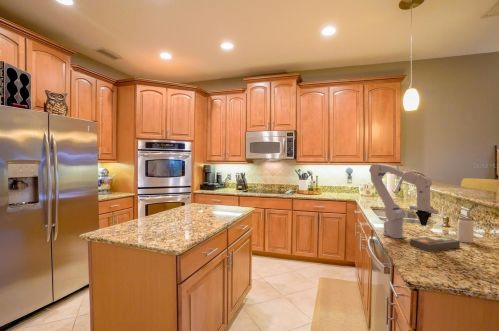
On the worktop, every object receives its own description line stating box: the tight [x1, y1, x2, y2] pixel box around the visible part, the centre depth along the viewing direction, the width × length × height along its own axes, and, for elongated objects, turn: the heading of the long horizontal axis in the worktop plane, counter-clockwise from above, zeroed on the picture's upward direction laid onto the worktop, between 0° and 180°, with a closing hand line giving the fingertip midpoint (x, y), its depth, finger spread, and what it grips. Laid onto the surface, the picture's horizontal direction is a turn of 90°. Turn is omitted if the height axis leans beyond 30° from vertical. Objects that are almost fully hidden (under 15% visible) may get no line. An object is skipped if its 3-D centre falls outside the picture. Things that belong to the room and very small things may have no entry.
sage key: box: [440, 236, 452, 241], centre depth 126 cm, size 4×4×2 cm
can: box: [456, 217, 474, 244], centre depth 132 cm, size 6×6×12 cm
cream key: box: [426, 236, 442, 242], centre depth 125 cm, size 4×4×2 cm
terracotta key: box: [417, 239, 431, 243], centre depth 123 cm, size 4×4×2 cm
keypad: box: [409, 235, 461, 252], centre depth 125 cm, size 10×20×3 cm, turn 105°
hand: (423, 225), depth 129 cm, fingers closed
